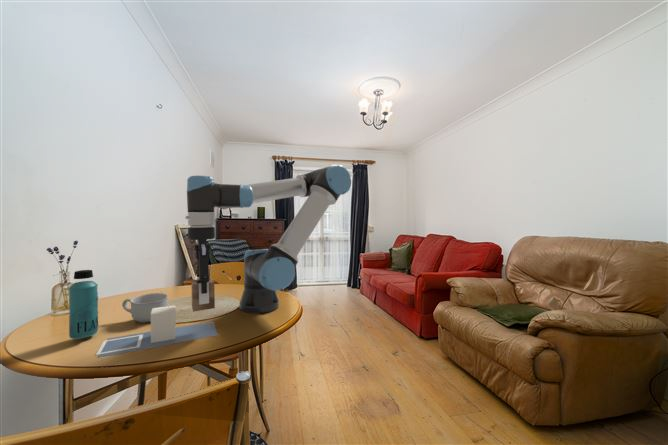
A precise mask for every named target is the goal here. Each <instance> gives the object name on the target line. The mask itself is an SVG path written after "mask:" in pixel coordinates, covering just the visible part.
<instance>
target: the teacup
mask: <svg viewBox="0 0 668 445" xmlns="http://www.w3.org/2000/svg"><path fill="white" fill-rule="evenodd" d="M168 299H169V295H168V294H167V293H163V292H152V293H144V294H141V295H137V296H135V297H133V298H131V297H128V298H125V299H124V300H123V301H122V309H123V310H125V311H126V312H128V313H130V314H131V317H132V319H133V321H136V322H138V323H142V324H143V323H151V311H152V308H159V307H167V306H168V303H169V301H168ZM128 302H130V307H129V306H128V304H127V303H128Z"/></svg>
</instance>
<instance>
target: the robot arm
mask: <svg viewBox="0 0 668 445" xmlns="http://www.w3.org/2000/svg"><path fill="white" fill-rule="evenodd" d="M186 182H187V183H186V185H187V186H186V201H187V203H186V204H187V215H186V216H185V220H187V225H188V226H190V227H188V228H187V237H188V238H187V239H188V240H190V241H196V242H197V243H196V244H195V245H194V251H195V259H196V277H197V278H196V280H199V281H197V283H199V305H201V304H207V303H209V280H210V279H211V278H210V267H209V264H210V263H209V261H210V249H211V248H210V247H211V246H210V245H209V244H208V240H214V239H215V238H216V228H215V227H214V226H215V224H216V219H215V218H216V216H215V215H216V214H215V208H218V209H221V210H226V209H235V208H238V209H239V208H241V209H243V208H250V207H252V205H253V204H259V203H264V202H265V203H266V202H270V201H276V200H282V199H288V198H292V197H300V198H306V197H307V198H306V200H305V202H304V203H303V205H302V206H301V207H300V209H299V210H298V212H297V214H296V215H295V216H294V218H293V219H292V221H291V222H290V224H289V225H288V227H287V228H286V230H285V231H284V232H283V234H282V235H281V237H280V239H279V240H278V242H276V243H274V244H270V246H269V248H262V249H249V250H246V251H245V252H244V255H243V256H244V257H243V261H244V262H243V264H244V266H243V272H244V273H243V277H244V278H243V282H244V284H243V285H244V286H243V291H242V295H241V298H240V301H239V305H238V306H239V310H240V311H242V312H244V313H248V314H249V313H250V314H265V313H268V312H272V311H276V310H277V309H278V308H279V307H280V299H279V296H278V294H277V293H278V292H277V291H282V290H285V289H286V288H288V287H289V286H290V285H291V284H292V282H294V279H295V277H296V266H297V265H298V263H299V259H298V255H299V253H300V252H301V250H302V248H303V247H304V245H305V244H306V243H307V241H308V239H309V238H310V237H311V235H312V233H313V232H314V230H315V229H316V227H317V225H318V224H319V223H320V221H321V219H322V217H323V215H325V213H326V211H327V210H328V208H329V207H330V206H331V205H336V203H337V202H338V199H339V198H340V196H341V195H345V194H346V193H348V192H349V191H350V189H351V187H352V179H351V174H350V171H348V169H347V168H346V167H344V165H341V164H331V165H329V166H326V167H322V168H318V169H316V170H313V171H310V172H307V173H303V174H297V175H296V176H295V177H294V178H293V177H292V178H285V179H280V180H279V179H278V180H271V181H264V182H263V181H262V182H257V183H250V184H244V185H243V184H225V183H223V184H222V183H215V179H214V177H212V176H211V175H209V176H207V175H190V176H189V177H188V178H187V181H186Z"/></svg>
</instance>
